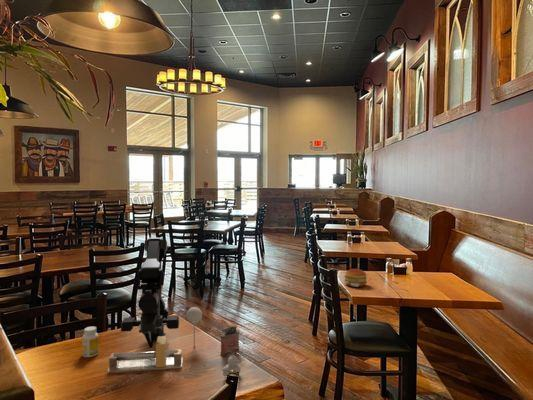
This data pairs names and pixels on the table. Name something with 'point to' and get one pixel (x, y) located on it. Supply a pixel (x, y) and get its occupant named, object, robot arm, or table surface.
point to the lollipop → (194, 317)
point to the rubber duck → (231, 365)
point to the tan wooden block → (161, 351)
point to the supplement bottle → (90, 342)
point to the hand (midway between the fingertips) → (150, 347)
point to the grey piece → (143, 361)
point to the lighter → (229, 341)
